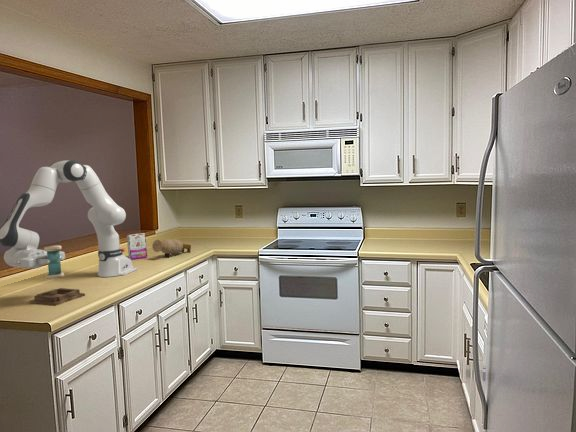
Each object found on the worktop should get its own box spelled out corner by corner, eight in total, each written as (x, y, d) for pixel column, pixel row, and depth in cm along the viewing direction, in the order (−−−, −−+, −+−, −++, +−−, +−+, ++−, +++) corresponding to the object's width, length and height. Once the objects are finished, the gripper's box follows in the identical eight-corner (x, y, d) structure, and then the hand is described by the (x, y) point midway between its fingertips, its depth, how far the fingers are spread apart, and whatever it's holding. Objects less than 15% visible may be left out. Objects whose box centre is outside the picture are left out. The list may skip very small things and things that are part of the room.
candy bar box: (145, 256, 306) (143, 232, 304) (147, 257, 302) (145, 233, 300) (128, 259, 299) (126, 234, 298) (130, 260, 295) (128, 235, 294)
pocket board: (59, 293, 217) (59, 287, 216) (84, 295, 210) (84, 289, 210) (29, 302, 202) (29, 296, 202) (55, 305, 196) (55, 298, 195)
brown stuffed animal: (180, 257, 319) (150, 257, 292) (181, 240, 320) (151, 238, 293) (191, 257, 315) (162, 257, 288) (192, 240, 316) (163, 238, 289)
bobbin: (56, 275, 210) (53, 245, 208) (67, 275, 207) (65, 245, 206) (43, 278, 203) (40, 247, 202) (54, 279, 200) (51, 248, 199)
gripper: (11, 256, 199) (34, 257, 194) (51, 248, 218) (72, 249, 213) (13, 270, 200) (35, 271, 195) (52, 261, 219) (74, 262, 213)
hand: (55, 259), depth 204 cm, fingers closed on bobbin, 5 cm apart
